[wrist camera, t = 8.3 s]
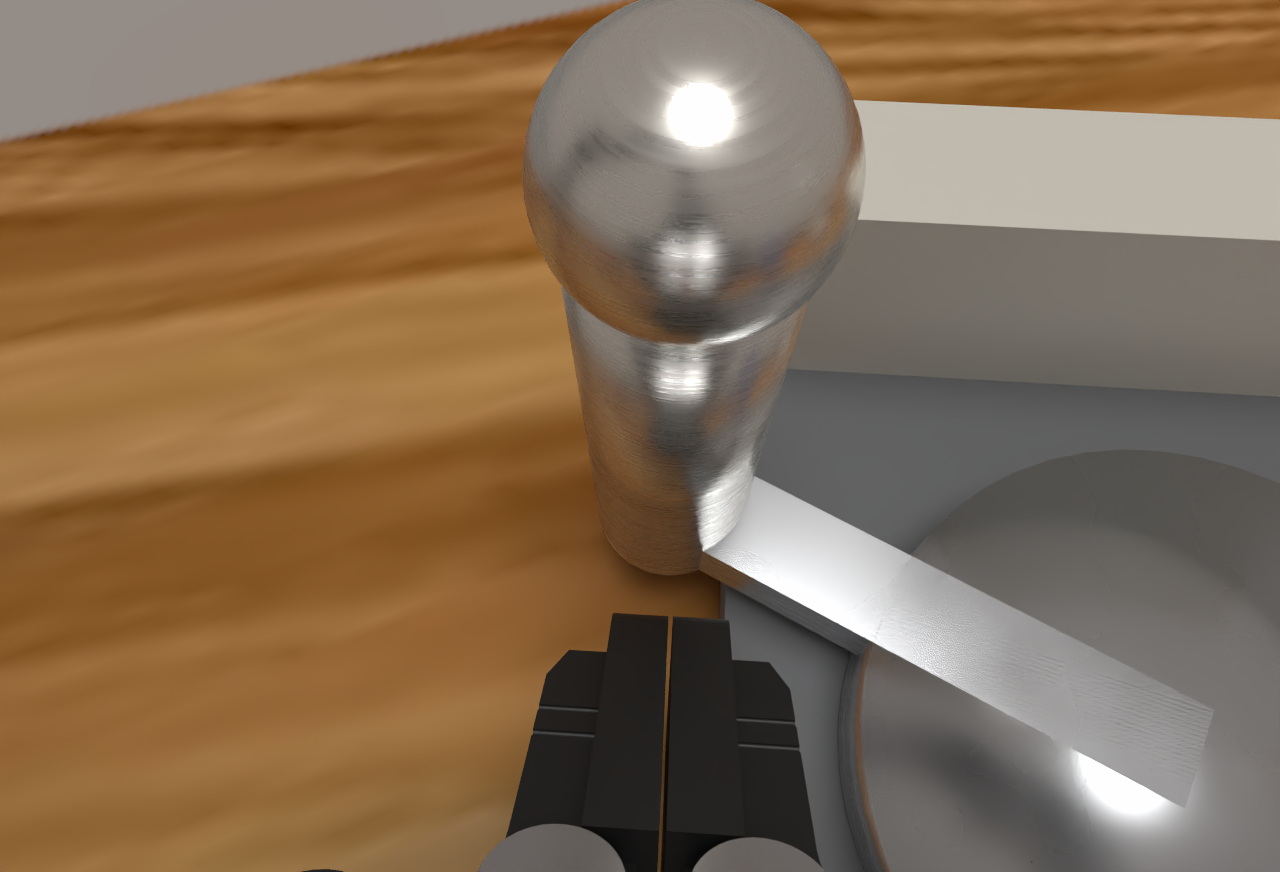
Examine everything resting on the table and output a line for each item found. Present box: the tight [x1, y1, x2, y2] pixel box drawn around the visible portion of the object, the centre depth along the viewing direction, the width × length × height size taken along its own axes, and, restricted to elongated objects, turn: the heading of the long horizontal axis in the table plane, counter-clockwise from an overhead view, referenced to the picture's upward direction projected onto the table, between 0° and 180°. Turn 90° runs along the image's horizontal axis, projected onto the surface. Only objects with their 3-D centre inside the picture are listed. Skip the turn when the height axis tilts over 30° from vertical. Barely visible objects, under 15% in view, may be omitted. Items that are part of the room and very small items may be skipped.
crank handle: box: [522, 0, 1280, 872], centre depth 10 cm, size 16×10×11 cm, turn 61°
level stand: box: [719, 100, 1280, 872], centre depth 14 cm, size 14×22×6 cm, turn 176°
